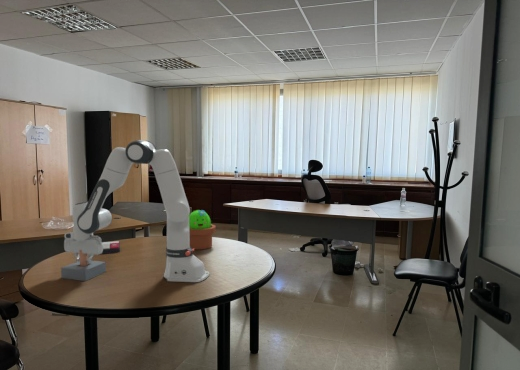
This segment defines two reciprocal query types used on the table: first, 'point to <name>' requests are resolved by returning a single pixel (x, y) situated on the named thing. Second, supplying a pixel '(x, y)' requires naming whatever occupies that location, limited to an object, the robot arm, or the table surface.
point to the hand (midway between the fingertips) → (84, 261)
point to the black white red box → (111, 247)
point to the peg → (83, 259)
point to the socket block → (83, 270)
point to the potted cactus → (200, 230)
